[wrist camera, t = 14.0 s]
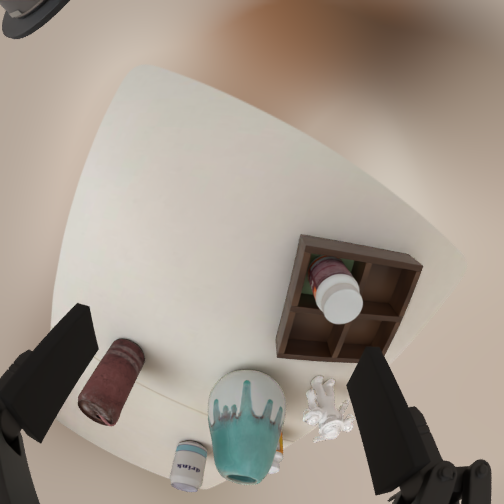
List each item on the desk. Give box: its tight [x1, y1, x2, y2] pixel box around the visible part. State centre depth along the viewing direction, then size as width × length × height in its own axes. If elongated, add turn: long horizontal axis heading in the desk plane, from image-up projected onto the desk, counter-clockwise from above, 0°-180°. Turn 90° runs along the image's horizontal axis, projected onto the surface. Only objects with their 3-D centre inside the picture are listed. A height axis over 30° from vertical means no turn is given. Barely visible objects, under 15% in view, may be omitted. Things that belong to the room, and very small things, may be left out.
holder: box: [276, 234, 423, 363], centre depth 33 cm, size 15×15×4 cm
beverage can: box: [170, 441, 207, 492], centre depth 44 cm, size 7×7×12 cm
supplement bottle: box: [268, 432, 283, 474], centre depth 41 cm, size 5×5×10 cm
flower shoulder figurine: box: [303, 376, 355, 442], centre depth 34 cm, size 9×4×12 cm, turn 62°
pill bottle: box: [307, 255, 363, 324], centre depth 29 cm, size 5×5×8 cm
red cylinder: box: [78, 339, 145, 426], centre depth 33 cm, size 6×6×14 cm
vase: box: [208, 370, 286, 485], centre depth 32 cm, size 12×12×18 cm
